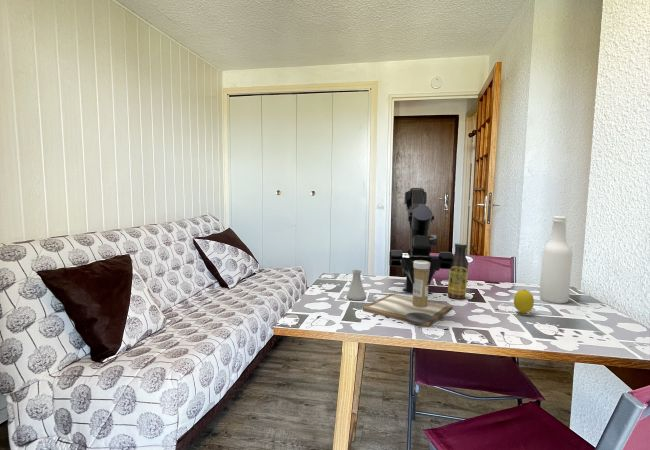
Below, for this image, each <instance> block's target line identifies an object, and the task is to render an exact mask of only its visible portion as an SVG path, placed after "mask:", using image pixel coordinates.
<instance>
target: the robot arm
mask: <svg viewBox="0 0 650 450" xmlns="http://www.w3.org/2000/svg"><path fill="white" fill-rule="evenodd" d="M427 196H428V193H427V192H426V191H425V189H424V188H422V187H411V188H409V190H407V191H406V192H404V203H403V204H404V205H405V210H406V212H407V218H406V219H407V220H406V221H407V223H408V224H409V249H408V251H407V252H406V253H404V252H403V249H390V250H389V255H388V257H389V258H388V259H389V261H388V263H389V265H388V266H390V267H398V268H399V267H400V269H402V275H403V276H406V279H405V280H406V281H405V287H403V288H402V291H404V292H408V293H409V292H410V293H413V283H414V267H413V263H414V261H416V260H424V261H428V262H429V272H428V286H430V285H431V283H432V280H433V276H434V275H435V274H436V272H438V271H440V269H441V270H450V269H451V268H452V264H453V261H454V255H455V254H453V252H452V251H451V252H450V251H439V252H438V255H431V252H432V247H437V244H438V234H430V227H431V225H432V222H433V221H434V220H435V216H434V215H433V211H432V210H431V209H430V208H429V206H427V205H426V204H427V202H428V200H427V199H428V197H427Z"/></svg>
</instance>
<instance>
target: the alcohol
mask: <svg viewBox="0 0 650 450" xmlns="http://www.w3.org/2000/svg"><path fill="white" fill-rule="evenodd" d="M552 218H553V219H552V228H551V234H550V240H549V241H548V243H546V245H545V246H544V247H543V249H542V254H541V255H542V257H541V269H540V271H541V272H540V282H539V283H540V285H539V286H540V287H539V297H540V299H541V300H542V301H545V302H547V303H551V304H552V303H553V304H561V305H562V304H567V303H568V301H569V300H570V290H571V287H570V286H571V273H572V265H573V264H572V262H573V251H572V248H571V247H570V246H569V244H568V243H567V219H568V218H567V216H563V215H562V216H561V215H559V216H558V215H557V216H556V215H555V216H553V217H552Z"/></svg>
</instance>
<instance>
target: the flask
mask: <svg viewBox="0 0 650 450" xmlns="http://www.w3.org/2000/svg"><path fill="white" fill-rule="evenodd" d="M351 271H352V278H351V279H352V280H351V284H350V286H349V289H348V292H347V294H346V298H347V299H348V300H354V301H364V300H365V299H367V296H366V293H365V288H364V286H363V282H362V278H361V273H362V270H361V269H353V270H351Z"/></svg>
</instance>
